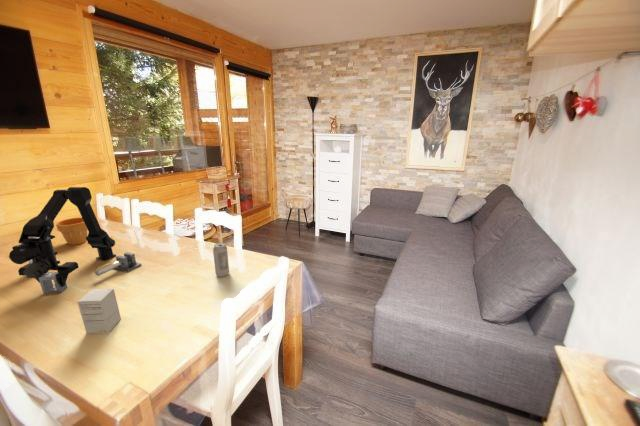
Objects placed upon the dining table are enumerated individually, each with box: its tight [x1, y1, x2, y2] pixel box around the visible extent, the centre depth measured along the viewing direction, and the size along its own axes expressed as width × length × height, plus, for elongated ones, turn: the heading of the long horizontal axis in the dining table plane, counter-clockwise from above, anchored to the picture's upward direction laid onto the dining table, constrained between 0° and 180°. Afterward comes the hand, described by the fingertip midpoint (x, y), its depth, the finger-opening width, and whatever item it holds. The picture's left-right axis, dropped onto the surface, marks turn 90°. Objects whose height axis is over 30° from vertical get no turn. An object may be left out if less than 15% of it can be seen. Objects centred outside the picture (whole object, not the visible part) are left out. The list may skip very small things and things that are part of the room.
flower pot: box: [55, 217, 88, 246], centre depth 165 cm, size 14×14×13 cm
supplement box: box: [77, 288, 122, 334], centre depth 96 cm, size 7×7×13 cm
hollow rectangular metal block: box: [39, 271, 69, 295], centre depth 117 cm, size 6×4×8 cm, turn 95°
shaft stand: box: [94, 252, 142, 277], centre depth 133 cm, size 10×17×6 cm, turn 160°
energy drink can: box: [212, 242, 230, 278], centre depth 130 cm, size 6×6×15 cm
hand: (54, 286), depth 118 cm, fingers closed on hollow rectangular metal block, 6 cm apart
